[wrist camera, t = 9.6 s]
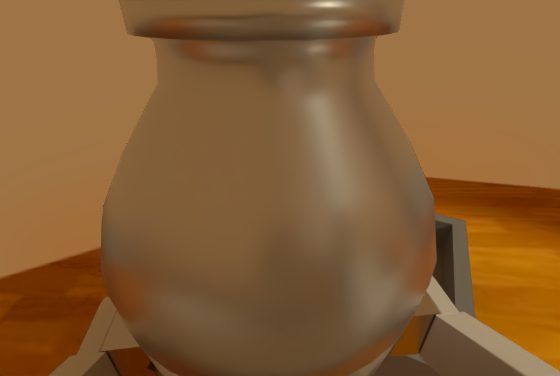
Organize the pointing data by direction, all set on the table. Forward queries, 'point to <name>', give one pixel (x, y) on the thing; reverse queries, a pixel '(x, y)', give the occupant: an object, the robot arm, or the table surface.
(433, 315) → the robot arm
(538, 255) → the table surface
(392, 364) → the box
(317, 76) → the plastic bottle
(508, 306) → the table surface
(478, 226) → the table surface
